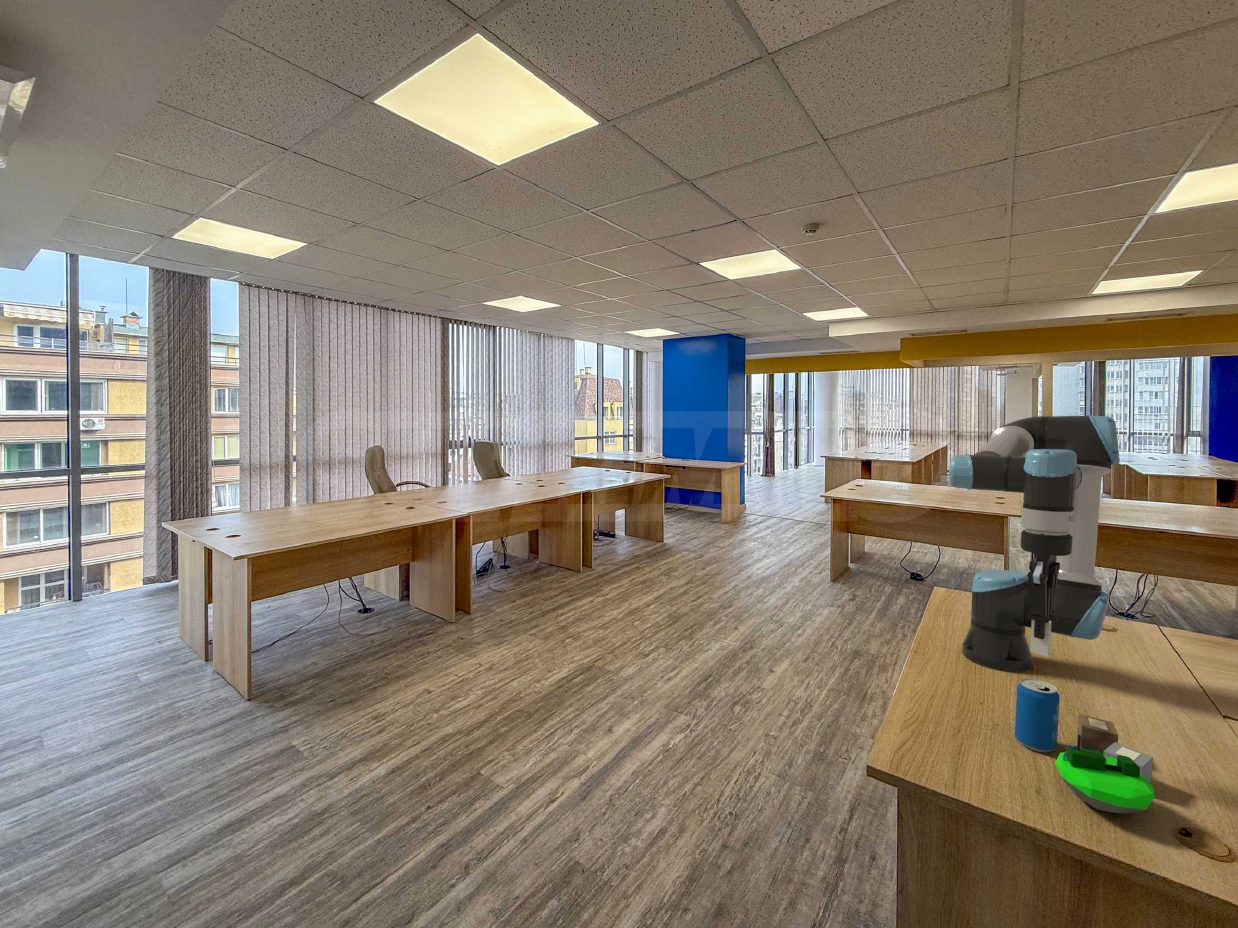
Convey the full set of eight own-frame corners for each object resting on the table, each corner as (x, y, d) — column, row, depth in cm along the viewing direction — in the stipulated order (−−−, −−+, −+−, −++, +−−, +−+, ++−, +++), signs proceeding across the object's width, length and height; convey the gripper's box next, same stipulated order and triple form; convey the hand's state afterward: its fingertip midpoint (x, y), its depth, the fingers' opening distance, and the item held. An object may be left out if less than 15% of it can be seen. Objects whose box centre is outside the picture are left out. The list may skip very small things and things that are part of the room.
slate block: (1102, 777, 94) (1103, 750, 93) (1113, 768, 96) (1114, 741, 96) (1140, 794, 89) (1142, 765, 89) (1150, 784, 92) (1152, 756, 91)
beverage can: (1046, 758, 99) (1049, 696, 98) (1007, 740, 105) (1010, 681, 104) (1063, 748, 102) (1066, 688, 101) (1025, 731, 108) (1028, 674, 107)
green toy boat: (1073, 820, 84) (1077, 755, 83) (1044, 773, 95) (1047, 714, 94) (1172, 840, 80) (1177, 771, 79) (1130, 788, 91) (1134, 727, 89)
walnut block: (1080, 751, 101) (1082, 725, 101) (1077, 738, 105) (1078, 713, 105) (1116, 760, 98) (1118, 734, 98) (1111, 746, 102) (1113, 721, 102)
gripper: (1064, 539, 93) (1057, 670, 94) (1079, 529, 101) (1072, 649, 103) (1012, 532, 98) (1006, 656, 100) (1030, 524, 107) (1024, 638, 109)
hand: (1039, 652), depth 101 cm, fingers closed
